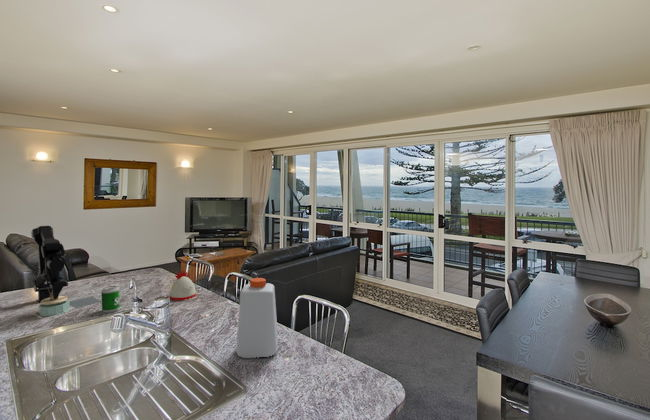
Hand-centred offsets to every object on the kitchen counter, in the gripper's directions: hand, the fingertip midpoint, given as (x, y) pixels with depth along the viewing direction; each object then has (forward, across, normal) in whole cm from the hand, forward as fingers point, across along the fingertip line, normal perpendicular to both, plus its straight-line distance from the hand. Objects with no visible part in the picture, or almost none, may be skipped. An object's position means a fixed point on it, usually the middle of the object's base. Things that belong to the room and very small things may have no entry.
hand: (54, 298), depth 162 cm
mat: (+7, -4, +14) cm, 16 cm away
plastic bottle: (+7, +109, +32) cm, 114 cm away
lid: (+1, 0, 0) cm, 1 cm away
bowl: (+7, 0, 0) cm, 7 cm away
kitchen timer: (+7, +29, +51) cm, 59 cm away
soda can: (+7, +20, +17) cm, 27 cm away
